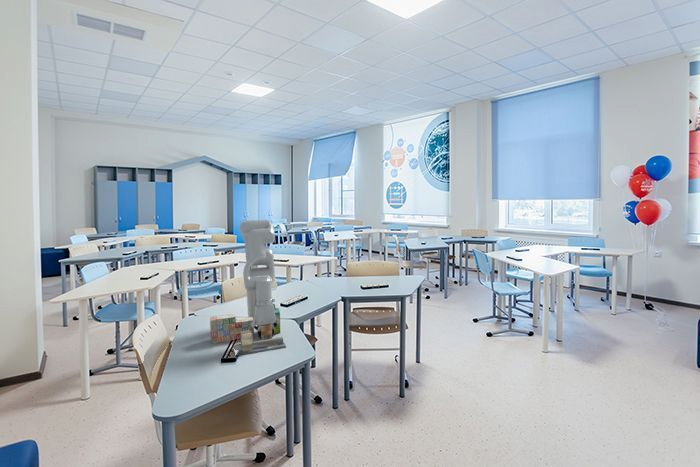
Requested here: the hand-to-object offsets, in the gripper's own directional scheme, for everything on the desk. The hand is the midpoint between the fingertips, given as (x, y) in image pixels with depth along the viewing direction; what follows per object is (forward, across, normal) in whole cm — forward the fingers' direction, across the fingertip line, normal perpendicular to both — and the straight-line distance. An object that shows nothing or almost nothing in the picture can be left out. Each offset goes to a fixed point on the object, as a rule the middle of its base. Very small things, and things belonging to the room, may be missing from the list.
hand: (266, 336), depth 193 cm
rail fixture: (+2, +5, +10) cm, 11 cm away
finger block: (+1, 0, 0) cm, 1 cm away
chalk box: (+2, -5, -11) cm, 12 cm away
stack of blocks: (+2, +16, -10) cm, 18 cm away
